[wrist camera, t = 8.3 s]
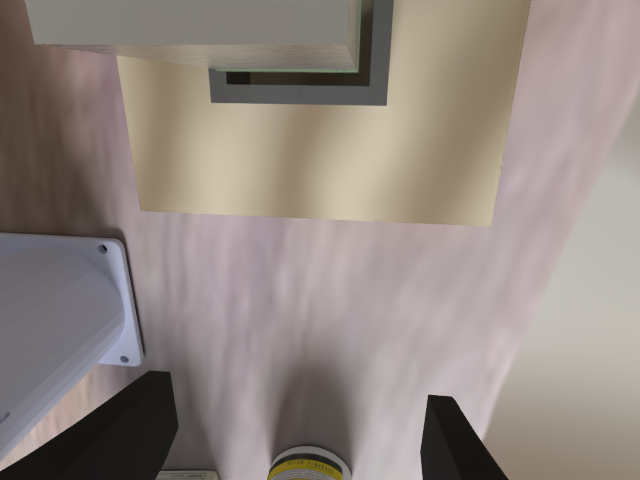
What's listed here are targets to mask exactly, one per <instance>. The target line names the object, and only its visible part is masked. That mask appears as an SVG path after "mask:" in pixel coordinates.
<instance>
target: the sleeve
mask: <svg viewBox="0 0 640 480" xmlns="http://www.w3.org/2000/svg"><path fill="white" fill-rule="evenodd" d="M393 7H394V0H373V13H372V32H371V51H370V69H369V86H309V85H250V72H221V71H216V69H214V68H208V72H209V84H210V96H211V103H245V104H303V105H361V106H387V94H388V79H389V65H390V50H391V36H392V21H393Z"/></svg>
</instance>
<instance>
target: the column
mask: <svg viewBox="0 0 640 480" xmlns="http://www.w3.org/2000/svg"><path fill="white" fill-rule="evenodd" d="M25 4H26V8H27V13H28V17H29V22H30V26H31V31H32V35H33V40H34V44H36V45H43V46H51V47H58V48H65V49H73V50H80V51H88V52H95V53H102V54H110V55H117V56H125V57H132V58H140V59H147V60H154V61H162V62H169V63H177V64H184V65H191V66H199V67H206V68H214V69H216V71H221V72H303V73H359V53H360V31H361V8H362V0H25Z"/></svg>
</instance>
